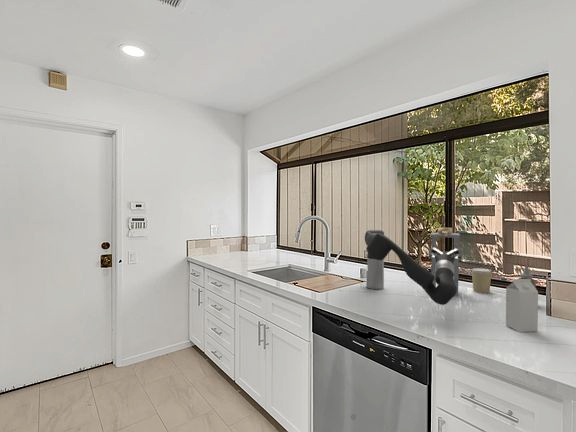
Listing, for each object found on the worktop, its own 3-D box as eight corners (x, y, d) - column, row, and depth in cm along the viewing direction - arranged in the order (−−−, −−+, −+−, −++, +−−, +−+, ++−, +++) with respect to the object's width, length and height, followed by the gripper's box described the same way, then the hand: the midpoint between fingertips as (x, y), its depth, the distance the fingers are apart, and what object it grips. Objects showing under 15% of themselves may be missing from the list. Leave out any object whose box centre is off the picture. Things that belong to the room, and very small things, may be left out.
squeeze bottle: (532, 302, 157) (533, 265, 157) (539, 307, 149) (540, 268, 149) (513, 301, 160) (513, 264, 159) (518, 306, 152) (519, 267, 152)
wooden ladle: (437, 235, 165) (437, 229, 164) (438, 232, 182) (438, 227, 181) (452, 236, 161) (452, 230, 161) (452, 233, 178) (452, 227, 178)
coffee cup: (485, 289, 182) (486, 268, 182) (494, 293, 173) (495, 271, 173) (468, 289, 183) (468, 268, 183) (476, 293, 174) (476, 271, 174)
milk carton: (505, 325, 127) (506, 277, 127) (522, 324, 128) (523, 277, 127) (519, 332, 120) (520, 281, 120) (537, 331, 121) (538, 281, 120)
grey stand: (430, 293, 175) (430, 234, 174) (431, 289, 184) (431, 232, 183) (459, 296, 169) (459, 234, 168) (458, 291, 178) (459, 233, 177)
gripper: (427, 271, 151) (429, 250, 163) (462, 274, 144) (461, 252, 157) (427, 259, 147) (429, 238, 160) (462, 261, 141) (461, 239, 153)
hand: (445, 245), depth 158 cm, fingers open, 8 cm apart
